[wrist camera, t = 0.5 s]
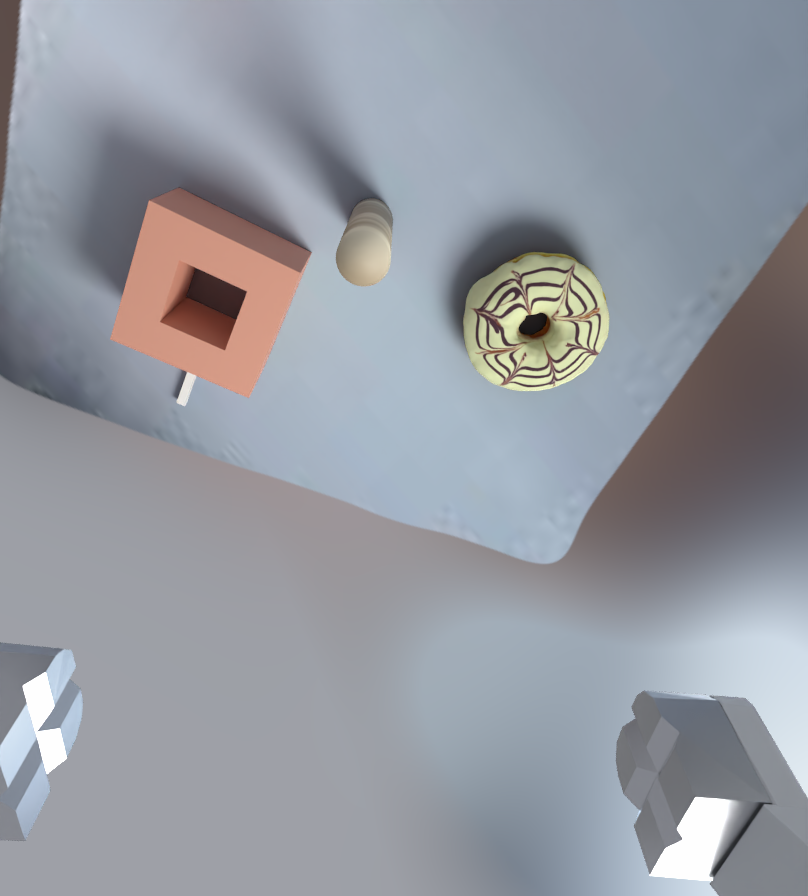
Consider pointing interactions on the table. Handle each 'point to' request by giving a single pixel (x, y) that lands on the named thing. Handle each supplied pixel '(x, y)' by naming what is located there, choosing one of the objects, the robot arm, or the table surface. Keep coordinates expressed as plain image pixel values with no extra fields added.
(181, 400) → the white bar
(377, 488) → the table surface
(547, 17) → the table surface
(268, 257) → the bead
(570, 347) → the decorated donut
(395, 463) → the table surface
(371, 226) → the rounded cream peg
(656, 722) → the robot arm
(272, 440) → the table surface
